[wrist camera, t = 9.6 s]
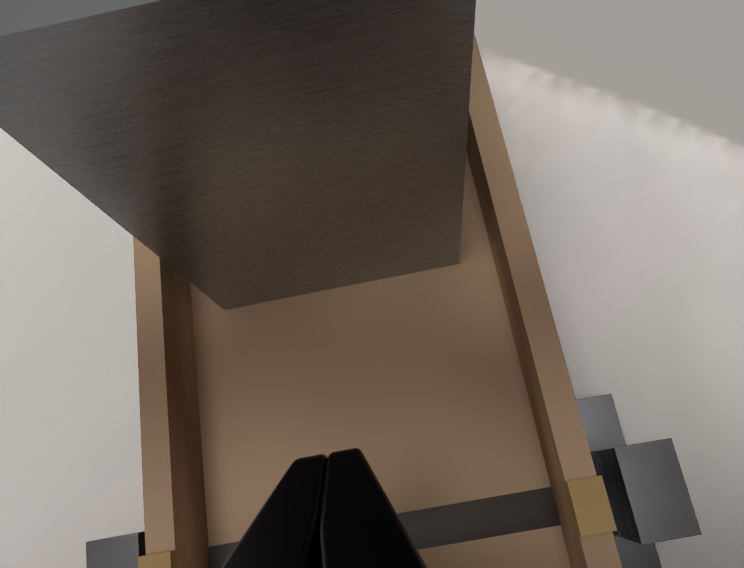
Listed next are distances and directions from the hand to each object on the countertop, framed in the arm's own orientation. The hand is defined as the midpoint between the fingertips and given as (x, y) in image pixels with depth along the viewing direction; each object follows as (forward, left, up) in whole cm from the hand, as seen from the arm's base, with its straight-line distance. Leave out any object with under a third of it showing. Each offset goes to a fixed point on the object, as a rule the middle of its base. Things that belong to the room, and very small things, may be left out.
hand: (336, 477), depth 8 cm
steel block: (+5, -4, -4) cm, 7 cm away
